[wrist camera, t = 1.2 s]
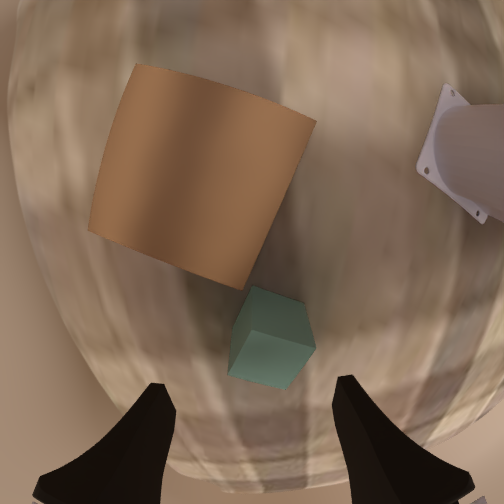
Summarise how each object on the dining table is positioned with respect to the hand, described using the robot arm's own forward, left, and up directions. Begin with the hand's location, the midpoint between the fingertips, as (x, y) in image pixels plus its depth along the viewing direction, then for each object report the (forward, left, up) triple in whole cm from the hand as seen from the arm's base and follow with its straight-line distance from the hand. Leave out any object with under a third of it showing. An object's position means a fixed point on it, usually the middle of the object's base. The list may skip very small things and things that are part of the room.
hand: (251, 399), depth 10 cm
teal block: (-2, +2, -10) cm, 10 cm away
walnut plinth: (+6, -6, -9) cm, 13 cm away
